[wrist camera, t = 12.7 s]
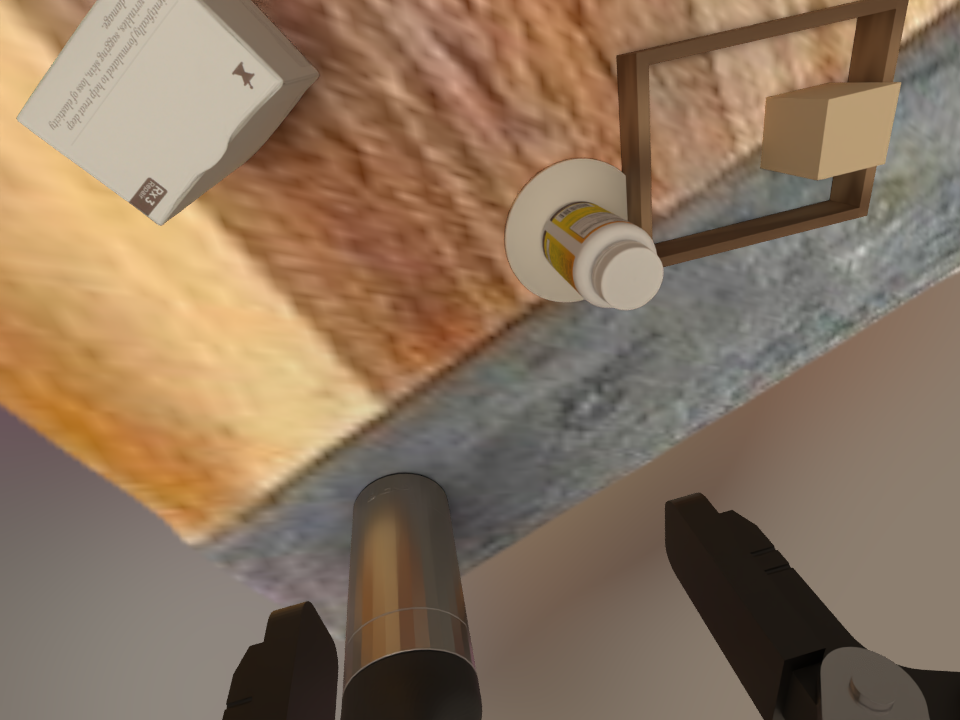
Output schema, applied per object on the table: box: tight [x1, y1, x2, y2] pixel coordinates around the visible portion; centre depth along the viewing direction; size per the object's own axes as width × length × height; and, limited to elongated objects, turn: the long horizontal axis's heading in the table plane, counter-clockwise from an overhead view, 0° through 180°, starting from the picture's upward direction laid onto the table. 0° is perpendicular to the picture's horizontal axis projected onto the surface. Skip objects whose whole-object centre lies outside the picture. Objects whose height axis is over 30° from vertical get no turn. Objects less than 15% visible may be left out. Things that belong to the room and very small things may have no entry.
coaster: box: [504, 158, 628, 302], centre depth 39 cm, size 11×11×1 cm
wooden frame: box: [617, 0, 909, 267], centre depth 37 cm, size 15×19×3 cm
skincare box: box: [17, 0, 320, 226], centre depth 25 cm, size 8×6×15 cm
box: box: [760, 82, 901, 180], centre depth 36 cm, size 5×5×6 cm
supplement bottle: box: [542, 201, 663, 310], centre depth 35 cm, size 6×6×10 cm
